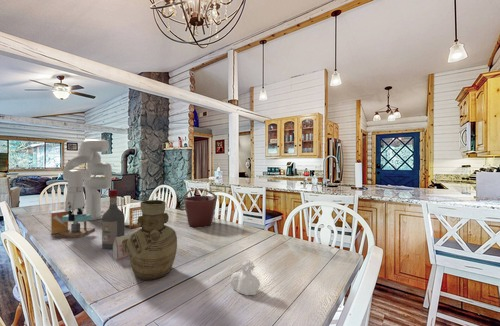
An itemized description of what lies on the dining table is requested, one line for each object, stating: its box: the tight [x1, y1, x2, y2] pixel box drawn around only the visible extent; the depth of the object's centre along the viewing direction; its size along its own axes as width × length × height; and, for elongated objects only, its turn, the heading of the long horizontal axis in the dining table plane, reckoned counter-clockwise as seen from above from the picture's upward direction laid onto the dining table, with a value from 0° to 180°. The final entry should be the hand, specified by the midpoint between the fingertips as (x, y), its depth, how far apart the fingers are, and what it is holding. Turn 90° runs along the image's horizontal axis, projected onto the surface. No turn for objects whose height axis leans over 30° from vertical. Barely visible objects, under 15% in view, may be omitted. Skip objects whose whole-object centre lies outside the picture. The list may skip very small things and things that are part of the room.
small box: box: [50, 209, 69, 235], centre depth 147 cm, size 8×6×13 cm
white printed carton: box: [112, 234, 131, 261], centre depth 112 cm, size 4×7×10 cm, turn 147°
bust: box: [230, 260, 261, 296], centre depth 86 cm, size 12×8×11 cm
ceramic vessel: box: [122, 199, 178, 281], centre depth 97 cm, size 19×21×30 cm
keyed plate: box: [62, 213, 91, 223], centre depth 143 cm, size 14×6×3 cm, turn 89°
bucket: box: [182, 188, 218, 228], centre depth 167 cm, size 24×22×25 cm
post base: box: [54, 221, 96, 239], centre depth 143 cm, size 14×14×10 cm
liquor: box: [101, 189, 125, 250], centre depth 125 cm, size 9×9×30 cm
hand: (75, 219), depth 143 cm, fingers closed on keyed plate, 6 cm apart
